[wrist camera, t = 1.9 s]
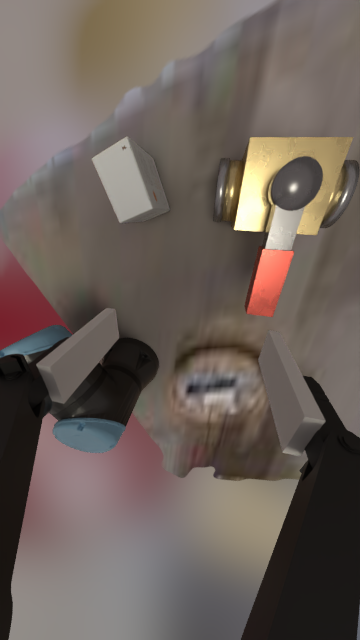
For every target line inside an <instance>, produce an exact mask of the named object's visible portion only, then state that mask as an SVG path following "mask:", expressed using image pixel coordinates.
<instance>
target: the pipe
mask: <svg viewBox="0 0 360 640" xmlns="http://www.w3.org/2000/svg"><path fill="white" fill-rule="evenodd" d="M229 163H230V158H221V160H220V166H219V173H218V181H217V189H216V197H215V207H214V217H213V221H214V222H221V220H222V213H223V206H224V199H225V192H226V185H227V178H228V170H229ZM344 163H345V165H346V170H347V172H346V180H345V184H344V187H343V190H342V193H341V195H340V198H339V200H338V202H337V204H336V206H335V208H334V209H333V211H332V213H331V214H330V215H329V217H328V218H327V219H326V220H325V221H324V222H323V223H322V224H321V225H320V227H319V228H328V227H330V226H331V225H333V224H334V223H335V222H336V221H337V220H338V219H339V218H340V216H341V215H342V214H343V212H344V211H345V209H346V208H347V206H348V204H349V202H350V200H351V198H352V196H353V194H354V191H355V188H356V185H357V182H358V178H359V164H358V162H357V161H356V160H345V161H344Z"/></svg>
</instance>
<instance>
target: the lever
mask: <svg viewBox="0 0 360 640" xmlns="http://www.w3.org/2000/svg"><path fill="white" fill-rule="evenodd" d="M322 180H323V171H322V168H321V165H320V164H319V162H318V161H317V160H316V159H314V158H312V157H308V156H302V157H298V158H295V159H293V160H291V161H290V162H288V163H287V164H286V165H284V166H283V167H282V168H281V169H280V170H278V171H277V173H276V174H275V175H274V177H273V178H272V180H271V182H270V185H269V189H268V198H269V202H270V204H271V205H272V208H271V212H270V216H269V220H268V224H267V228H266V232H265V236H264V240H263V244H262V246H259V248H258V252H257V256H256V260H255V264H254V268H253V273H252V277H251V281H250V285H249V289H248V293H247V297H246V302H245V310H246V314H254V315H262V316H269V317H273V314H274V311H275V308H276V305H277V302H278V299H279V296H280V293H281V290H282V287H283V284H284V281H285V278H286V275H287V272H288V269H289V266H290V263H291V260H292V257H293V254H294V251H292V250H291V248H292V245H293V242H294V239H295V236H296V233H297V230H298V227H299V224H300V221H301V217H302V214H303V211H304V208H305V206H306V205H308V204H309V203H310V202H311V201H312V200H313V199H314V198H315V196H316V195H317V193H318V192H319V190H320V187H321V184H322Z"/></svg>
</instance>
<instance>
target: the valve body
mask: <svg viewBox="0 0 360 640" xmlns="http://www.w3.org/2000/svg"><path fill="white" fill-rule="evenodd" d="M352 139H353V137H250V140H249V142H248V145H247V148H246V150H245V153H244V156H243V158H242V161H237V160H230V163H229V170H228V178H227V185H226V192H225V199H224V206H223V213H222V220H221V221H232V222H231V227H232V228H233V229H234V230H244V231H260V232H266V228H267V224H268V220H269V216H270V212H271V208H272V205H271V204H270V202H269V198H268V189H269V185H270V182H271V180H272V178H273V177H274V175H275V174H276V173H277V171H278V170H280V169H281V168H282V167H283V166H284V165H286V164H287V163H288V162H290V161H291V160H293V159H295V158H298V157H302V156H308V157H312V158H314V159H316V160H317V161H318V162H319V164H320V165H321V168H322V171H323V180H322V184H321V187H320V190H319V192H318V193H317V195H316V196H315V198H314V199H313V200H312V201H311V202H310V203H309V204H308V205H306V206H305V208H304V211H303V214H302V217H301V221H300V224H299V227H298V230H297V233H296V234H305V235H317V233H318V230H319V227H320V225H321V224H322V223H323V222H324V221H325V220H326V219H327V218H328V217H329V215H330V214H331V213H332V211H333V209H334V208H335V206H336V204H337V202H338V200H339V198H340V195H341V193H342V190H343V187H344V184H345V180H346V172H347V170H346V165H345V163H344V161H345V158H346V155H347V153H348V150H349V147H350V145H351V142H352Z"/></svg>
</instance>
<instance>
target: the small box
mask: <svg viewBox="0 0 360 640" xmlns="http://www.w3.org/2000/svg"><path fill="white" fill-rule="evenodd" d="M92 161H93V164H94V166H95V168H96V171H97V173H98V175H99V177H100V180H101V182H102V184H103V186H104V189H105V191H106V193H107V195H108V198H109V200H110V202H111V205H112V207H113V209H114V211H115V214H116V216H117V218H118V220H119V223H132V222H143V221H147V220H149V219H152V218H154V217H156V216H159V215H161V214H163V213H165V212H168V211H170V208H169V205H168V202H167V199H166V196H165V192H164V189H163V186H162V183H161V180H160V177H159V174H158V171H157V168H156V165H155V162H154V159H153V158H152V157H151V156H150V155H149V154H148V153H147V152H145V151H144V150H143V149H142V148H141V147H139V146H138V145H137V144H136V143H135V142H134V141H132V140H131V139H130V138H129V137H128V136H127V137H125V138H124V139H122V140H120V141H119V142H117V143H116V144H114V145H112V146H111V147H109V148H108V149H106V150H104V151H103V152H101V153H100V154H98V155H96V156H95V157H93V158H92Z"/></svg>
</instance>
